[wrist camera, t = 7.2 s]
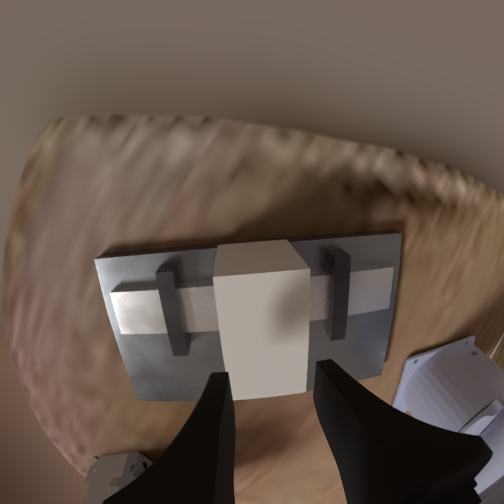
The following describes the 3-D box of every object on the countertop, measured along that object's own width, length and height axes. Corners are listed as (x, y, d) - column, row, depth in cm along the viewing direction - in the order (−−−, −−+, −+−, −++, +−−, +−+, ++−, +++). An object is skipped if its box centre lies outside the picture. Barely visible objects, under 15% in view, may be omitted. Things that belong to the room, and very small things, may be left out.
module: (287, 239, 17) (310, 268, 12) (288, 340, 19) (306, 391, 14) (217, 244, 16) (212, 277, 11) (228, 346, 18) (229, 400, 13)
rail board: (394, 229, 18) (413, 238, 16) (376, 368, 21) (388, 385, 19) (100, 254, 17) (84, 266, 15) (141, 392, 20) (134, 412, 18)
